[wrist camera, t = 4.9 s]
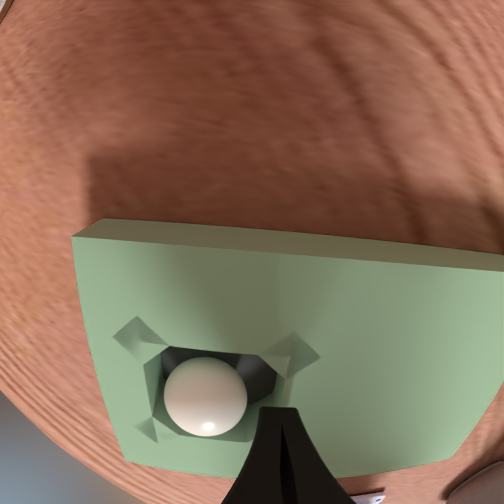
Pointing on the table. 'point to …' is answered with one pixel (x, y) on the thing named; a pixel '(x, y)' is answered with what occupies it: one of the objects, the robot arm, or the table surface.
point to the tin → (4, 8)
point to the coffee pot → (481, 487)
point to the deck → (292, 339)
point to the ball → (205, 396)
